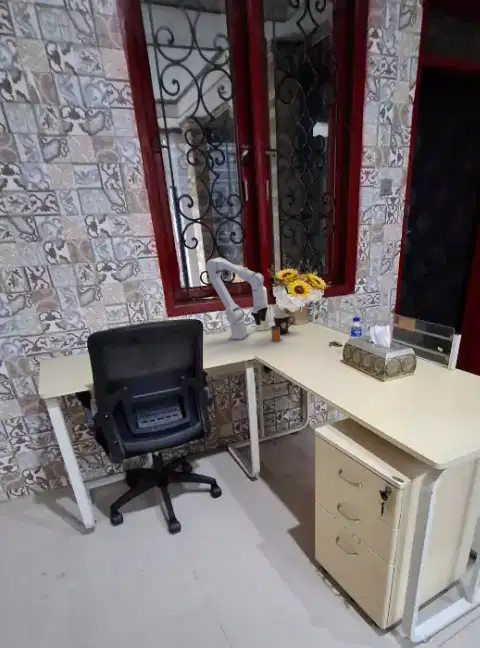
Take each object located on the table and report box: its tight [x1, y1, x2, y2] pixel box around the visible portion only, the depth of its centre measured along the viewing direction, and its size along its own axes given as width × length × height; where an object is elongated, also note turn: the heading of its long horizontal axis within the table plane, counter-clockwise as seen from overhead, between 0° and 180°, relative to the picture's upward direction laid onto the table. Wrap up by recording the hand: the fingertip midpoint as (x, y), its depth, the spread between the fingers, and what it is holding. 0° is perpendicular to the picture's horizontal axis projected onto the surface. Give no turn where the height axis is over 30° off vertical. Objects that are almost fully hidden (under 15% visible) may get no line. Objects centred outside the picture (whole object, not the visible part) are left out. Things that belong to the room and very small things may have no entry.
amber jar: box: [270, 324, 282, 342], centre depth 226 cm, size 5×5×8 cm
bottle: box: [255, 282, 271, 331], centre depth 243 cm, size 8×8×28 cm
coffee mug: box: [273, 313, 296, 336], centre depth 236 cm, size 12×9×10 cm
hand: (260, 322), depth 227 cm, fingers open, 7 cm apart
